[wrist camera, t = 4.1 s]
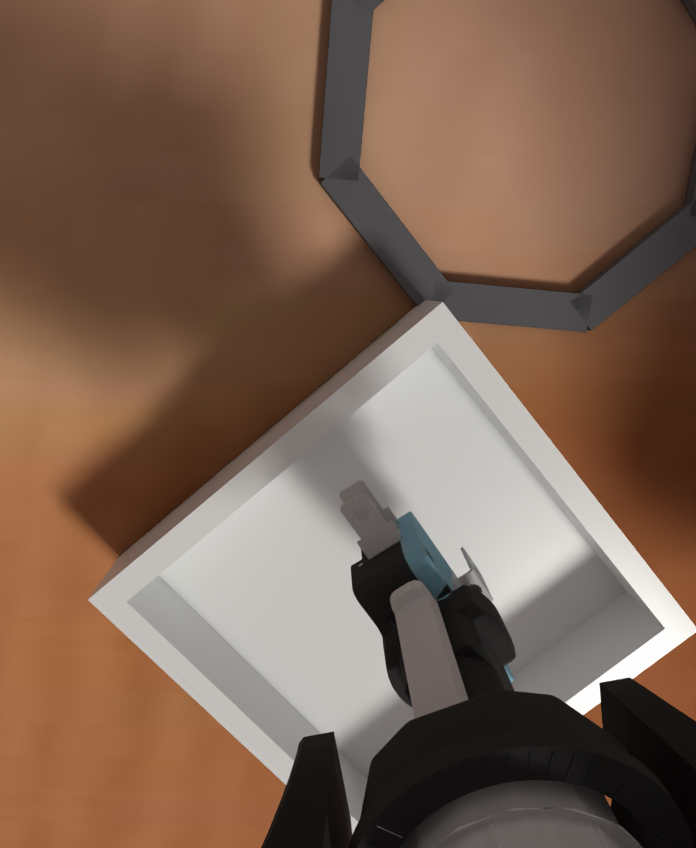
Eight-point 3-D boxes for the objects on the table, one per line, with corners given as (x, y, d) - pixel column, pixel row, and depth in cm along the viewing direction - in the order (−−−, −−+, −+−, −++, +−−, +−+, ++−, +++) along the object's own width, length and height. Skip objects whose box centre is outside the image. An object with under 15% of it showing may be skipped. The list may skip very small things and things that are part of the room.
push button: (273, 527, 17) (205, 872, 8) (432, 425, 17) (579, 660, 7) (398, 689, 19) (474, 1145, 9) (548, 602, 18) (799, 993, 9)
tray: (648, 585, 23) (698, 630, 20) (367, 796, 24) (374, 868, 21) (423, 299, 20) (442, 301, 17) (118, 556, 21) (87, 599, 18)
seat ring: (814, 144, 19) (825, 141, 19) (494, 404, 21) (497, 406, 20) (586, -249, 17) (593, -261, 16) (235, 77, 18) (233, 72, 18)
